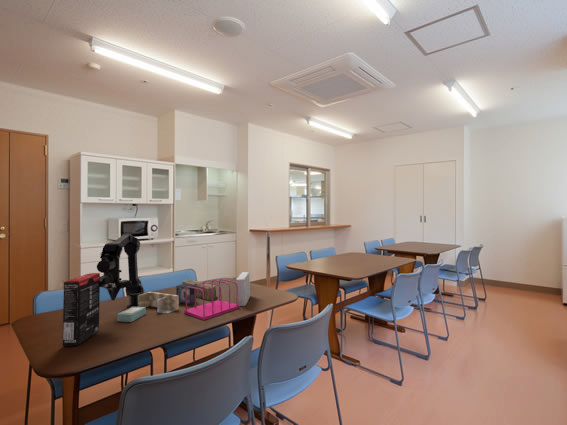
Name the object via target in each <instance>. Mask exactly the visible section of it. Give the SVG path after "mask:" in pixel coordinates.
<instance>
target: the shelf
mask: <svg viewBox="0 0 567 425" xmlns="http://www.w3.org/2000/svg"><path fill="white" fill-rule="evenodd" d="M166 296H167V297H168V308H171V309H176V310H175V311H178V310H179V306H180V305H179V304H180V303H179V295H176V294H170V293H162V292H156V291H148V292H144V294H140V295H138V307H146V308H147V307H153V308H157V300H158V299H161V298H164V297H166Z"/></svg>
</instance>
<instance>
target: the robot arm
mask: <svg viewBox="0 0 567 425" xmlns="http://www.w3.org/2000/svg"><path fill="white" fill-rule="evenodd" d="M140 247H141V242H140V240H139V239H138V238H137V237H135V236H134V235H133V234H130V233H124V234H121V236H120V237H118V238H117V239H115V241H112V242H107V243H105V244H104V246H103V247H102V251H101V253H100V256H99V258H100V259H101V260H100V261H98V263H97V265H96V269H97V271H98V273H100V274H102V273H103V275H100V281H99V284H100V288H103V289H105V290H107V292H108V295H109V297H110V299H111V301H115V300H116V299H117V296H118V294H119V292H120V291H121V289H125V295H126V296H125V297H128V299H129V304H128V305H127V307H129V308H131V307H138V295H140V294H144V293H145V288H144V287H143V285H142V281H141V279H140V278H139V271H138V255H137V254H138V252H139V251H140ZM123 250H124V253H125V254H126V255H127V261H128V262H127V265H128V279H123V280H122V277H120V273H122V269H120V259H121V254H122V252H123Z"/></svg>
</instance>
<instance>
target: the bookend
mask: <svg viewBox="0 0 567 425" xmlns="http://www.w3.org/2000/svg"><path fill="white" fill-rule="evenodd" d="M156 309H157V310H156V312H157V313H159V314H165V315H169V314H171V313H172V312H175V311H177V310H176V309H171V308H168V297H167V296H166V297H164V298H161V299H158V300H157V307H156Z"/></svg>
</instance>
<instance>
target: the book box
mask: <svg viewBox="0 0 567 425" xmlns="http://www.w3.org/2000/svg"><path fill="white" fill-rule="evenodd" d="M145 315H147V307H129V308H126V309H125V310H123V311H120V312H118V313H117V314H116V316H117V318H116V320H117V322H125V323H127V322H129V323H132V322H134V321H136V320H138V319H139V318H141V317H143V316H145Z"/></svg>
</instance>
